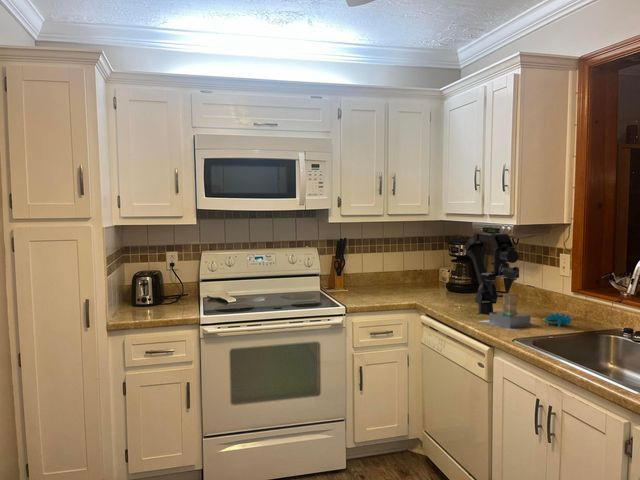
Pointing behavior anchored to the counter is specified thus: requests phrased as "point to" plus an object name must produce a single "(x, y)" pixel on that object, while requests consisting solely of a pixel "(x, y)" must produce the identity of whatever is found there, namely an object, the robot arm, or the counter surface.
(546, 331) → the counter surface
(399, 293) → the counter surface
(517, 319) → the guide block
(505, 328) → the base plate
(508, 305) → the post
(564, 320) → the blue spiky toy
